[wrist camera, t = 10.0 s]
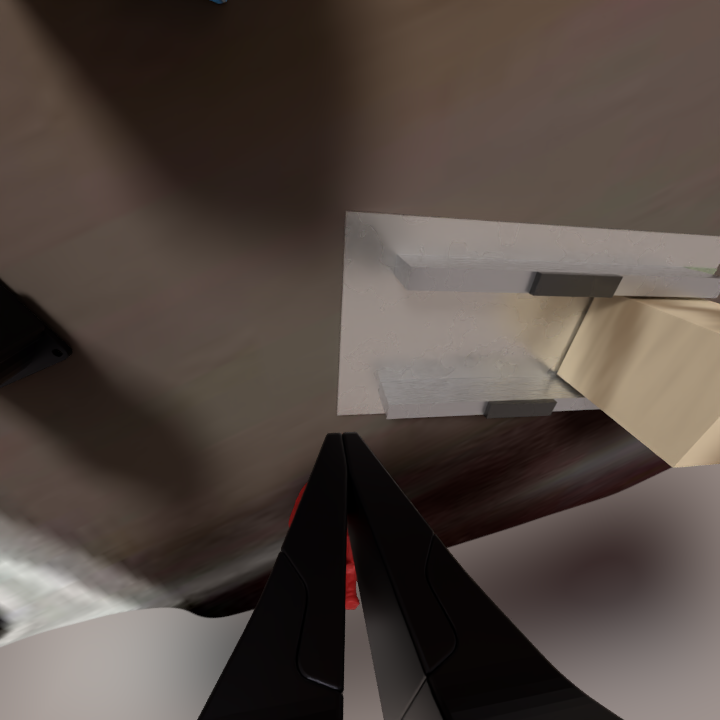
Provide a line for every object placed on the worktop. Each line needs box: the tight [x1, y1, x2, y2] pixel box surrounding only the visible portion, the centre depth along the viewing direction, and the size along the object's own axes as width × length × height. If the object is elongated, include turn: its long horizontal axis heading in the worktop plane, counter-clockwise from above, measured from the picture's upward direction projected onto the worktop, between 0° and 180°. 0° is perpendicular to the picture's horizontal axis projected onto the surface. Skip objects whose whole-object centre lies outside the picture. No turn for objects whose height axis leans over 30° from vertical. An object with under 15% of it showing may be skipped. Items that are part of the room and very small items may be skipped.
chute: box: [337, 211, 720, 419], centre depth 20 cm, size 26×14×4 cm, turn 86°
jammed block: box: [557, 295, 720, 468], centre depth 19 cm, size 6×7×9 cm
